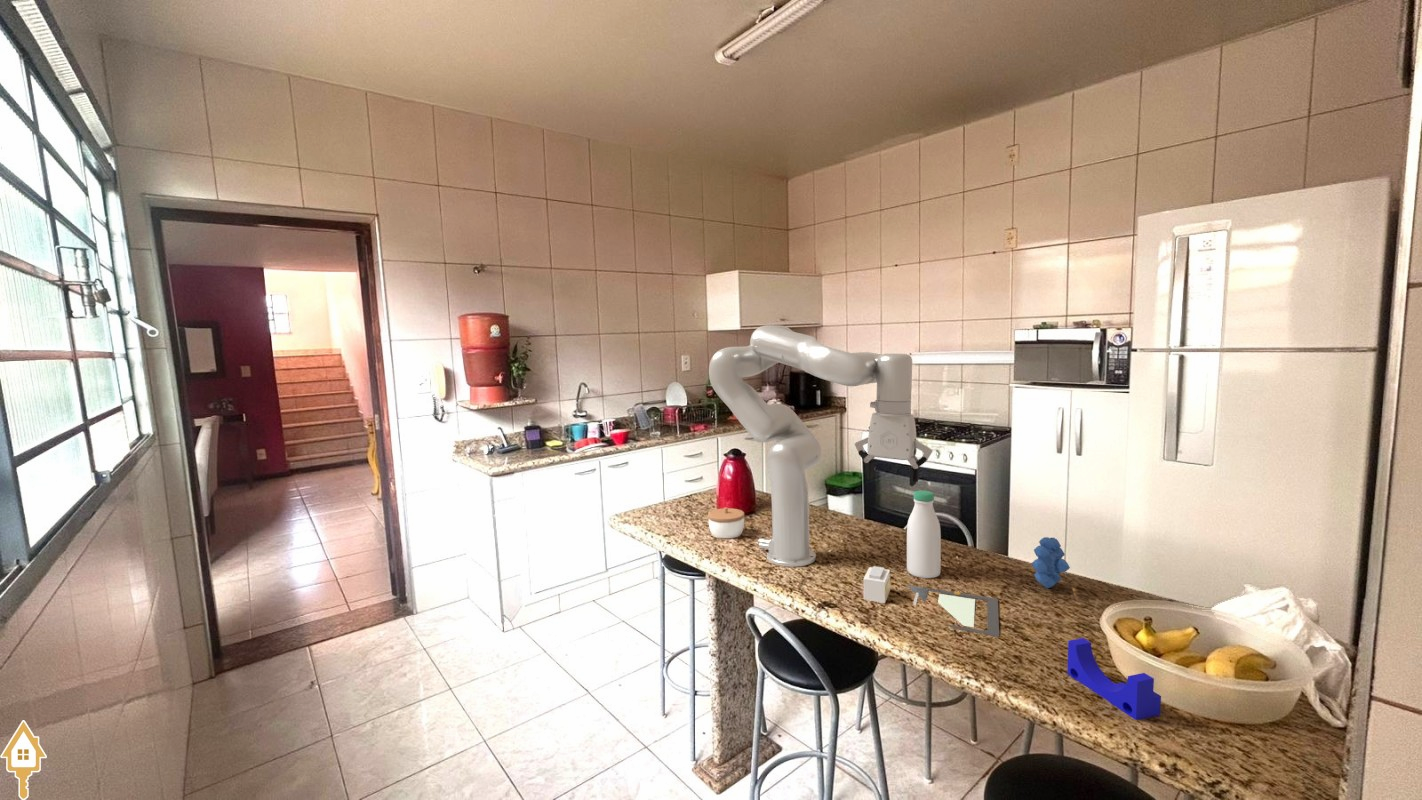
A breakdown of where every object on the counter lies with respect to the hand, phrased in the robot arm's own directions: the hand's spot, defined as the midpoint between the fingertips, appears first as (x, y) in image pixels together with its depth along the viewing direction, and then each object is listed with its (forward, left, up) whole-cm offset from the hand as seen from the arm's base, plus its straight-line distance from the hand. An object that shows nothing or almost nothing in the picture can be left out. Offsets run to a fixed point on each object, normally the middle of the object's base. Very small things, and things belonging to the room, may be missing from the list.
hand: (891, 481), depth 130 cm
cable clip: (+38, -29, -25) cm, 54 cm away
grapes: (+33, +10, -25) cm, 42 cm away
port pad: (+14, -9, -24) cm, 30 cm away
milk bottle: (+6, +9, -25) cm, 27 cm away
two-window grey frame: (+6, -9, -24) cm, 27 cm away
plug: (-2, -9, -24) cm, 26 cm away
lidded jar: (-49, +14, -25) cm, 56 cm away
